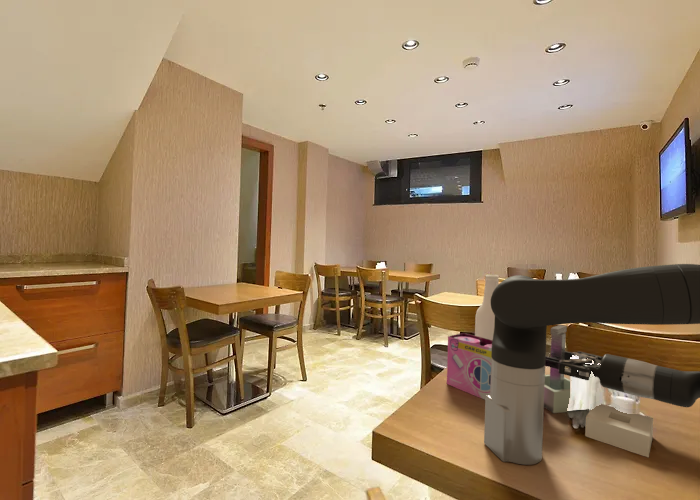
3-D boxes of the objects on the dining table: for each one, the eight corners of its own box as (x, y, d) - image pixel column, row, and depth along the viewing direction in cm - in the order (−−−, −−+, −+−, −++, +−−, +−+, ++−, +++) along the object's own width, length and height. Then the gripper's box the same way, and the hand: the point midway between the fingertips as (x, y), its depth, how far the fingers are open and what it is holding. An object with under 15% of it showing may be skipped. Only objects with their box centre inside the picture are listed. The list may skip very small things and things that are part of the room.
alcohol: (483, 365, 114) (486, 273, 113) (510, 373, 107) (513, 275, 106) (468, 371, 108) (471, 274, 108) (495, 380, 102) (498, 277, 101)
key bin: (553, 413, 82) (554, 392, 82) (524, 394, 92) (525, 375, 92) (589, 410, 84) (590, 389, 84) (557, 392, 94) (558, 374, 94)
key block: (648, 457, 65) (649, 436, 65) (585, 436, 72) (585, 417, 72) (652, 437, 73) (653, 418, 73) (594, 419, 80) (595, 402, 80)
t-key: (557, 403, 85) (559, 329, 85) (546, 399, 87) (548, 327, 87) (565, 396, 89) (568, 326, 89) (555, 393, 91) (557, 324, 90)
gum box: (548, 411, 83) (550, 354, 83) (531, 420, 79) (534, 360, 78) (462, 378, 103) (464, 332, 102) (445, 384, 98) (446, 336, 98)
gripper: (636, 352, 82) (559, 337, 94) (621, 366, 72) (538, 347, 84) (635, 384, 82) (558, 365, 94) (620, 402, 72) (537, 377, 85)
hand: (549, 356), depth 89 cm, fingers open, 8 cm apart
